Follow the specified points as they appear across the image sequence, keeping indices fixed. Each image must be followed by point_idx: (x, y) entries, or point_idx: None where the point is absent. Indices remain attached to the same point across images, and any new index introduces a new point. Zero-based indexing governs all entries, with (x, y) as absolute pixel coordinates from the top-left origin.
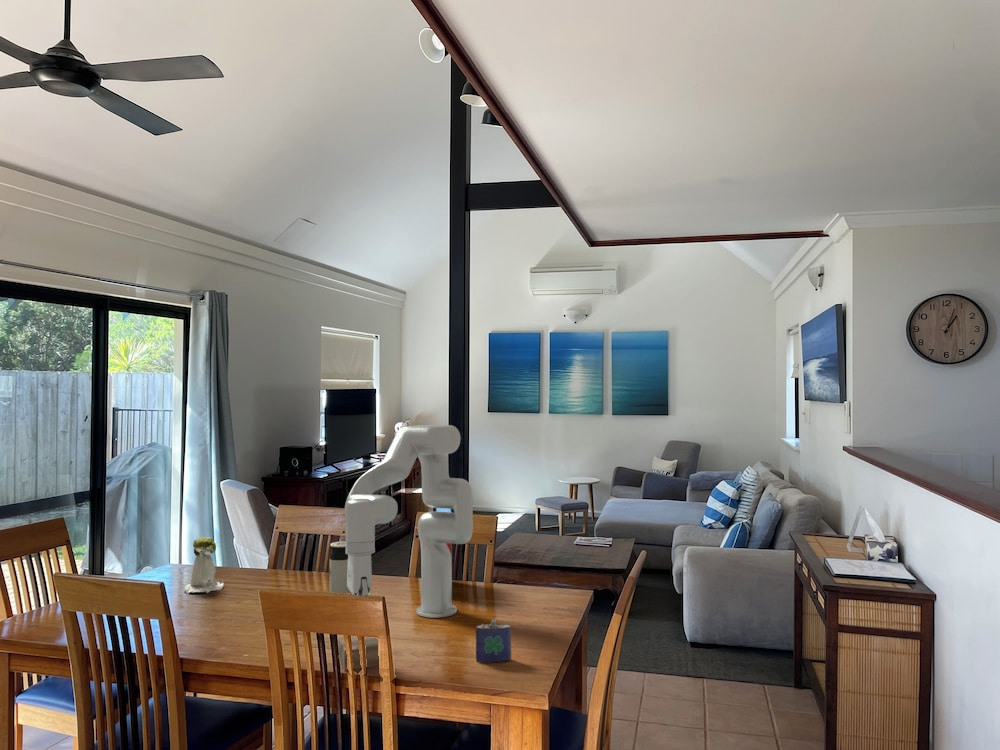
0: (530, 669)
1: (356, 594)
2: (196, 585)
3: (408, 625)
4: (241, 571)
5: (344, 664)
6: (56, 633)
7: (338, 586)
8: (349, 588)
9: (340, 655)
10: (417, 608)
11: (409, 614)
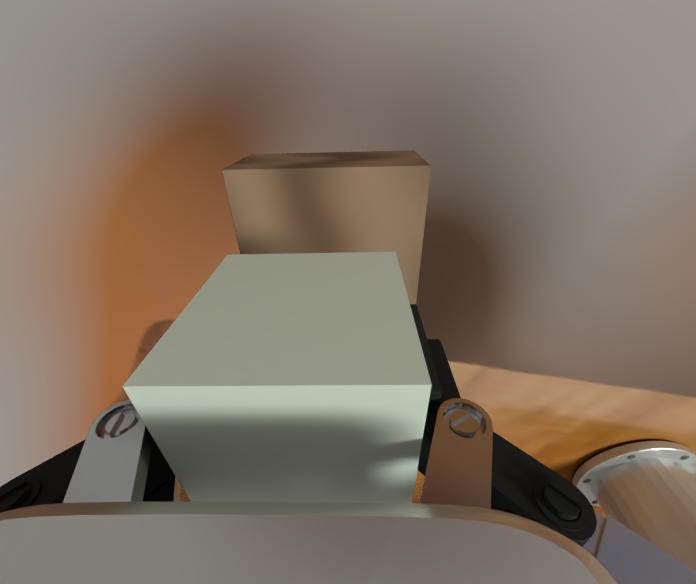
0: (188, 501)
1: (418, 459)
2: None
3: (585, 406)
4: None
5: (249, 158)
6: None
7: None
8: (223, 553)
9: (359, 155)
10: (685, 453)
11: (678, 425)
